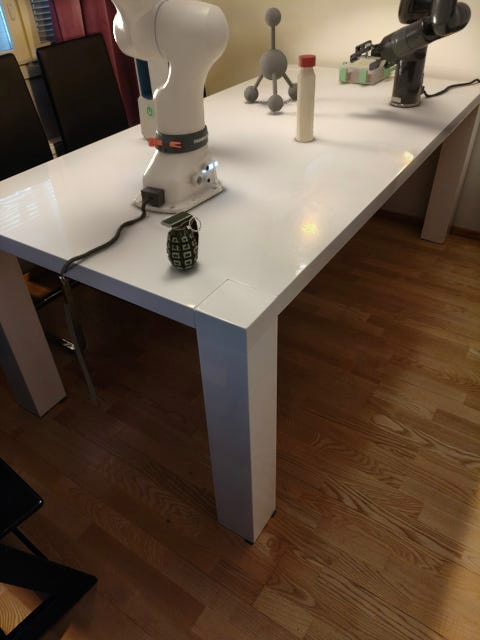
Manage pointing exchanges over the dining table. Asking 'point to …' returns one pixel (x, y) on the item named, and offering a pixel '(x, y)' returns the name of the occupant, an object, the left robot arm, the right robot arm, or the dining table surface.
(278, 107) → the molecular model
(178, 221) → the grenade
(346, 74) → the decorative block
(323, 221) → the dining table surface
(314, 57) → the cap
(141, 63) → the electronic device
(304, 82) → the bottle
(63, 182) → the dining table surface
